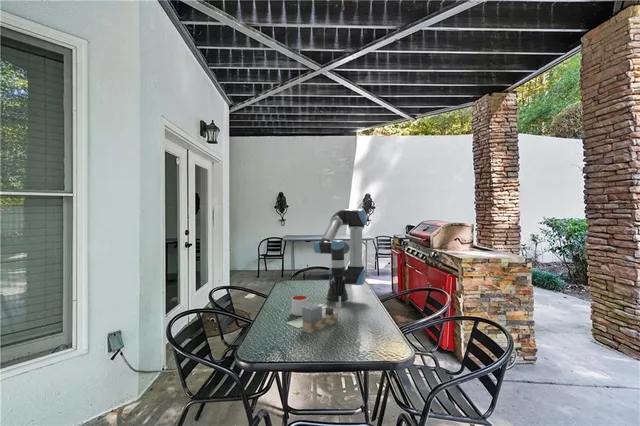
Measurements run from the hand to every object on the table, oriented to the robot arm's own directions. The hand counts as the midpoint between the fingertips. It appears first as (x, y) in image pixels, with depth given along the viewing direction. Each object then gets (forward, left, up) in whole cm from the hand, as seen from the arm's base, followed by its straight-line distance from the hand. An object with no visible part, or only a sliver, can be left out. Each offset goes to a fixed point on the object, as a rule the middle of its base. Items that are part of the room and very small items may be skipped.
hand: (338, 307), depth 171 cm
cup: (+10, -23, -7) cm, 26 cm away
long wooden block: (+15, 0, -7) cm, 16 cm away
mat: (+20, -12, -7) cm, 24 cm away
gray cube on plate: (+21, 0, -2) cm, 21 cm away
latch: (+8, 0, -2) cm, 8 cm away
